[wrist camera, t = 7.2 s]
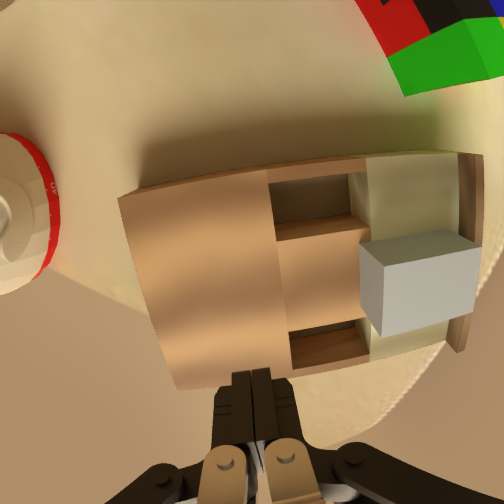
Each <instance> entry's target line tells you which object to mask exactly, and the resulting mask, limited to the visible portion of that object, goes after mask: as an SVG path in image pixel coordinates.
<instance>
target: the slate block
mask: <svg viewBox="0 0 504 504" xmlns="http://www.w3.org/2000/svg"><path fill="white" fill-rule="evenodd" d="M481 250H482V247H481V246H479V245H478V244H476V243H474V242H472V241H470V240H468V239H466V238H464V237H462V236H460V235H458V234H456V233H454V232H452V231H450V230H448V229H444V230H438V231H432V232H426V233H420V234H414V235H408V236H401V237H395V238H389V239H383V240H377V241H370V242H364V243H359V266H360V307H361V308H362V310H363V311H364V313H365V314H366V316H367V317H368V319H369V320H370V322H371V323H372V325H373V327H374V328H375V330H376V331H377V333H378V334H379V336H380V337H381V338H384V337H388V336H392V335H396V334H400V333H404V332H408V331H411V330H415V329H419V328H422V327H426V326H429V325H433V324H436V323H440V322H443V321H446V320H449V319H453V318H456V317H459V316H462V315H465V314H468V313H471V312H473V307H474V302H475V296H476V290H477V283H478V276H479V269H480V260H481Z"/></svg>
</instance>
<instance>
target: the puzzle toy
mask: <svg viewBox="0 0 504 504" xmlns="http://www.w3.org/2000/svg"><path fill="white" fill-rule="evenodd" d="M355 2H356V3H357V5H358V7H359V8H360V10H361V12H362V13H363V15H364V17H365V18H366V20H367V22H368V23H369V25H370V27H371V29H372V31H373V32H374V34H375V36H376V38H377V40H378V42H379V44H380V45H381V47H382V49H383V51H384V53H385V55H386V57H387V59H388V61H389V63H390V65H391V67H392V70H393V72H394V74H395V76H396V78H397V80H398V83H399V85H400V87H401V89H402V92H403V94H404V96H409V95H413V94H418V93H422V92H426V91H431V90H435V89H440V88H445V87H450V86H455V85H460V84H465V83H471V82H476V81H482V80H488V79H493V78H497V77H500V76H504V0H355Z"/></svg>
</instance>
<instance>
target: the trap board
mask: <svg viewBox="0 0 504 504" xmlns="http://www.w3.org/2000/svg"><path fill="white" fill-rule="evenodd" d="M345 173H347V177H348V187H349V197H350V209H351V214H345V215H338V216H331V217H324V218H317V219H310V220H304V221H297V222H290V223H284V224H277V225H274V221H273V214H272V207H271V200H270V193H269V187H268V183H275V182H282V181H289V180H296V179H304V178H311V177H319V176H328V175H336V174H345ZM117 199H118V204H119V208H120V212H121V217H122V221H123V225H124V229H125V233H126V237H127V241H128V244H129V248H130V252H131V255H132V259H133V263H134V266H135V270H136V273H137V276H138V280H139V283H140V286H141V290H142V293H143V296H144V299H145V302H146V306H147V309H148V312H149V315H150V318H151V321H152V324H153V326H154V329H155V332H156V335H157V338H158V341H159V343H160V346H161V349H162V352H163V354H164V357H165V360H166V362H167V365H168V368H169V370H170V373H171V375H172V378H173V380H174V383H175V385H176V388H177V390H193V389H205V388H217V387H220V386H228V385H231V375H232V372H238V371H245V370H250V371H251V370H252V369H259V368H266V367H270V371H271V377H272V379H278V378H284V377H285V378H286V379H288V378H294V377H300V376H306V375H311V374H316V373H322V372H327V371H332V370H336V369H341V368H346V367H350V366H355V365H359V364H363V363H367V362H371V361H375V360H379V359H383V358H387V357H391V356H395V355H398V354H402V353H405V352H409V351H412V350H416V349H419V348H422V347H425V346H429V345H432V344H435V343H438V342H441V341H444V340H446V341H447V342H448V343H449V345H450V346H451V347H452V348H453V349H454V350H455V352H456V353H458V352H461V351H464V349H465V345H466V341H467V337H468V333H469V328H470V323H471V318H472V313H473V312H471V313H468V314H465V315H462V316H459V317H456V318H453V319H449V320H446V321H443V322H440V323H436V324H433V325H429V326H426V327H422V328H419V329H415V330H411V331H408V332H404V333H400V334H396V335H392V336H388V337H384V338H381V337H380V336H379V334H378V333H377V331H376V330H375V328H374V327H373V325H372V323H371V322H370V320H369V319H368V317H367V316H366V314H365V313H364V311H363V310H362V308H361V307H360V266H359V243H364V242H370V241H377V240H383V239H389V238H395V237H401V236H408V235H414V234H420V233H426V232H432V231H438V230H444V229H448V230H450V231H452V232H454V233H456V234H458V235H460V236H462V237H464V238H466V239H468V240H470V241H472V242H474V243H476V244H478V245H479V246H481V247H482V238H483V221H484V162H483V155H478V154H470V153H462V152H453V151H443V150H418V151H399V152H383V153H370V154H357V155H346V156H336V157H327V158H317V159H309V160H301V161H293V162H285V163H278V164H271V165H264V166H257V167H251V168H244V169H238V170H232V171H226V172H220V173H215V174H209V175H204V176H198V177H193V178H188V179H183V180H178V181H173V182H168V183H164V184H159V185H154V186H150V187H145V188H141V189H137V190H135V191H133V192H130V193H128V194H126V195H124V196H121V197H119V198H117ZM478 277H479V276H478ZM477 284H478V283H477ZM475 297H476V296H475ZM474 303H475V302H474ZM473 308H474V307H473ZM354 319H355V327H353V328H348V329H343V330H338V331H333V332H328V333H323V334H317V335H312V336H306V337H301V338H295V339H289V335H288V332H289V331H295V330H301V329H307V328H313V327H318V326H323V325H329V324H334V323H339V322H344V321H349V320H354ZM251 374H252V372H251Z"/></svg>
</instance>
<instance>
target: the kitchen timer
mask: <svg viewBox="0 0 504 504" xmlns="http://www.w3.org/2000/svg"><path fill="white" fill-rule="evenodd" d="M59 229H60V207H59V196H58V193H57V189H56V185H55V181H54V176H53V174H52V172H51V170H50V168H49V166H48V164H47V162H46V160H45V158H44V156H43V154H42V153H41V152H40V151H39V150H38V149H37V148H36V147H35V145H34V144H33V143H32V142H31V141H29V140H28V139H26V138H24V137H22V136H20V135H18V134H11V133H0V295H2V294H5V293H8V292H11V291H13V290H15V289H17V288H19V287H21V286H23V285H25V284H27V283H29V282H30V281H32V280H33V279H34V278H36V277H37V276H38V275H40V273H41V272H42V271H43V270H44V269H45V268H46V267H47V265H48V264H49V263H50V261H51V258H52V256H53V254H54V251H55V249H56V246H57V243H58V235H59Z"/></svg>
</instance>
